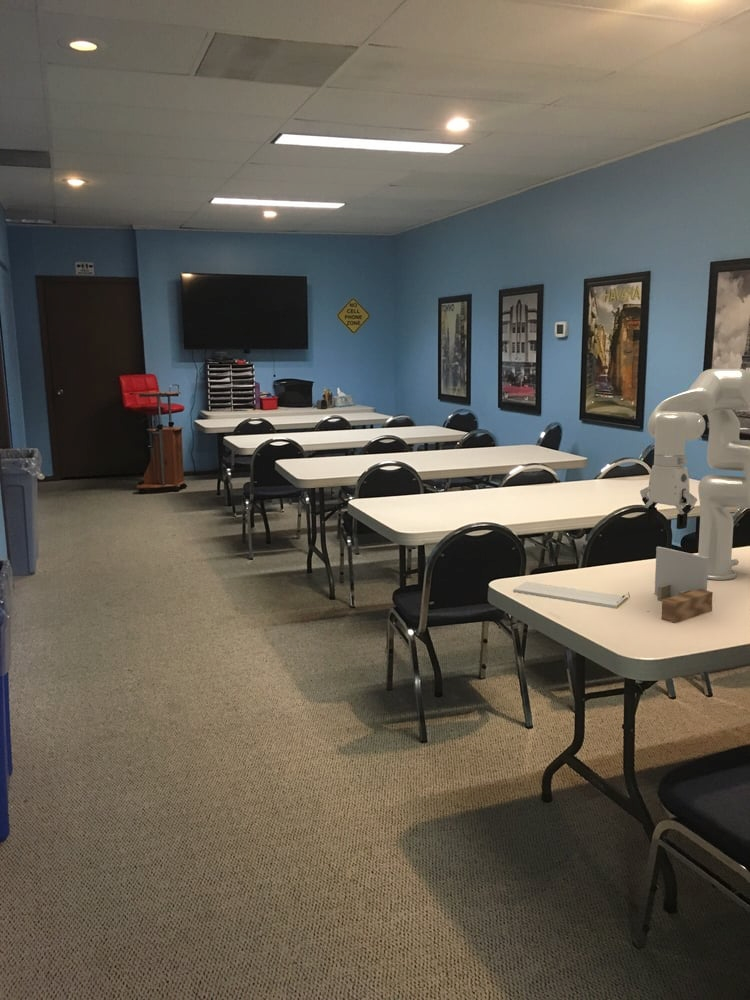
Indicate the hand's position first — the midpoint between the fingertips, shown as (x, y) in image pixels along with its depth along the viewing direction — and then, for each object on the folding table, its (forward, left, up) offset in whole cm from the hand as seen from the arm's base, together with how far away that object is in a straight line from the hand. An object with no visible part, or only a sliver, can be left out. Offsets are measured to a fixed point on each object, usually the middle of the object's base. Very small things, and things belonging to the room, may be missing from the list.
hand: (666, 525), depth 206 cm
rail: (-2, +6, -24) cm, 25 cm away
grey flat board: (+9, -25, -25) cm, 36 cm away
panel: (-9, -3, -24) cm, 26 cm away
